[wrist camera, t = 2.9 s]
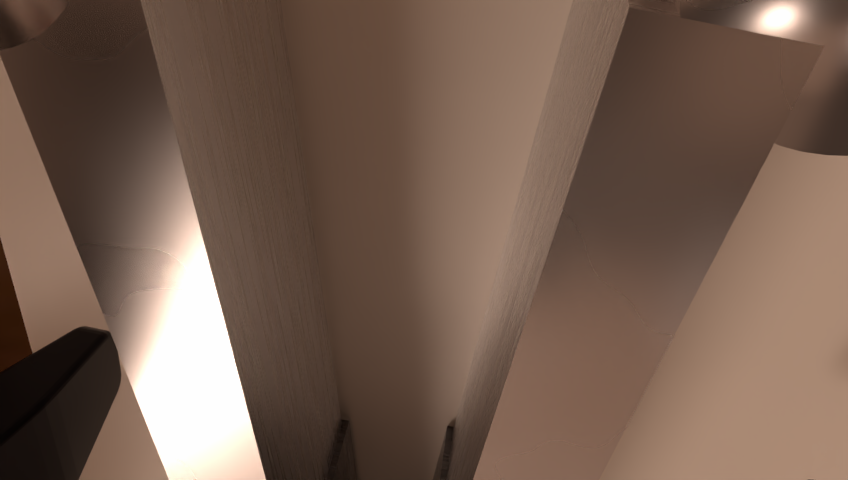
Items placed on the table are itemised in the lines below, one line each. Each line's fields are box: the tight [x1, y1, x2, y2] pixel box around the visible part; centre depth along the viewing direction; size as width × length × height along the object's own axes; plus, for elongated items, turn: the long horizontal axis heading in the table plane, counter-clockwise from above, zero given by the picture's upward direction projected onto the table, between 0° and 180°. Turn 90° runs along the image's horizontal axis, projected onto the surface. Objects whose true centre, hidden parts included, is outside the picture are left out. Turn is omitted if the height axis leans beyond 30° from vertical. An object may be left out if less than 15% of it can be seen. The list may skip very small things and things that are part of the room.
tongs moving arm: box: [0, 0, 357, 480], centre depth 9 cm, size 16×3×3 cm, turn 2°
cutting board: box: [0, 0, 848, 480], centre depth 12 cm, size 23×14×1 cm, turn 172°
